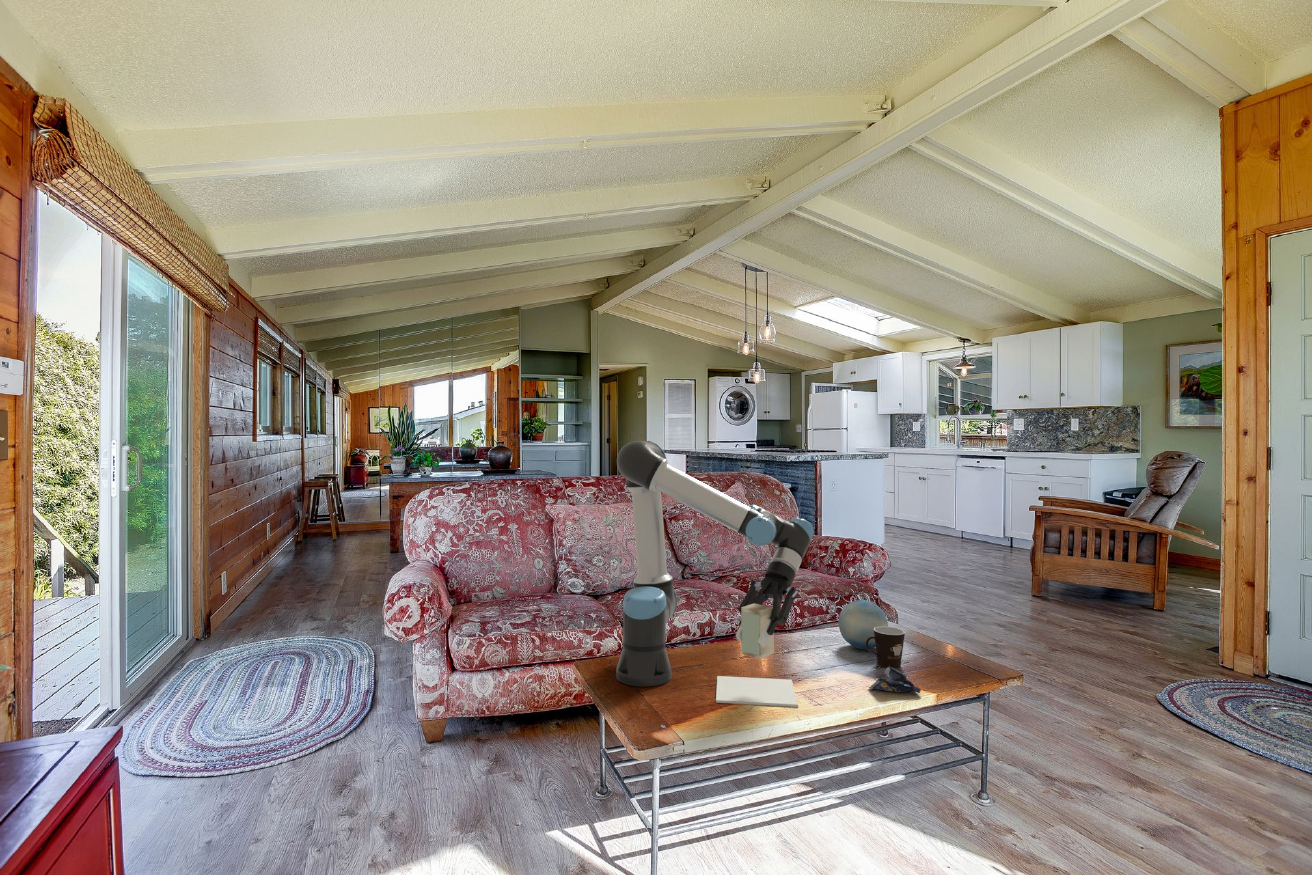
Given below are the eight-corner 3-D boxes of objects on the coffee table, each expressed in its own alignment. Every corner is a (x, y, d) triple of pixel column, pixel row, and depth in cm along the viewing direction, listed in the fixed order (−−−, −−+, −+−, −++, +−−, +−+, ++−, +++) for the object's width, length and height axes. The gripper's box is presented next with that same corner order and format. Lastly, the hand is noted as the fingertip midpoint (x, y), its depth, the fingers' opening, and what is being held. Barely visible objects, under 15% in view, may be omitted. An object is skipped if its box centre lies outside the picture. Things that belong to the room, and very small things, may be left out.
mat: (715, 702, 163) (715, 699, 163) (717, 678, 180) (717, 675, 180) (798, 706, 161) (798, 704, 161) (791, 681, 178) (791, 679, 178)
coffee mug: (900, 660, 196) (900, 626, 196) (908, 670, 188) (908, 635, 188) (860, 658, 197) (860, 625, 197) (866, 668, 189) (866, 633, 189)
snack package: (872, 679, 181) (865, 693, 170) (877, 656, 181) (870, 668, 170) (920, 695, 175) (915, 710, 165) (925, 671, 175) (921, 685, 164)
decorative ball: (898, 650, 205) (898, 602, 205) (865, 658, 197) (866, 608, 197) (860, 638, 218) (860, 593, 218) (828, 645, 210) (828, 598, 210)
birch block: (740, 654, 170) (740, 607, 170) (754, 648, 175) (754, 603, 175) (760, 659, 166) (760, 611, 166) (773, 653, 171) (773, 607, 171)
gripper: (819, 581, 176) (787, 657, 163) (758, 571, 188) (725, 642, 176) (809, 564, 172) (776, 640, 159) (748, 555, 184) (713, 626, 172)
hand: (749, 641), depth 168 cm, fingers closed on birch block, 6 cm apart
